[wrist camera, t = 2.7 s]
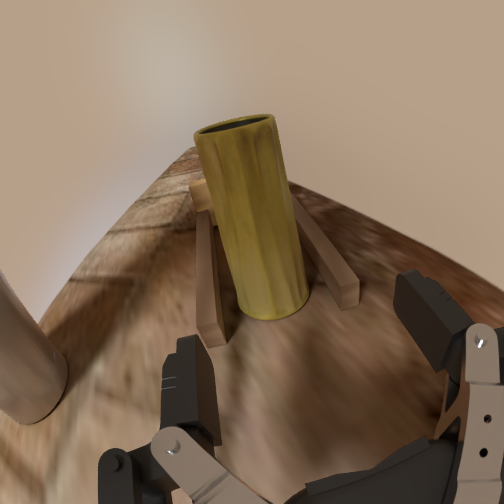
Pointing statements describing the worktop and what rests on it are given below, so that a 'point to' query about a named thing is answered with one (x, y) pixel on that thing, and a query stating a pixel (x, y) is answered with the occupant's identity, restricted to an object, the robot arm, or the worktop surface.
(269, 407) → the worktop surface
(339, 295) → the track
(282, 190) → the vase
